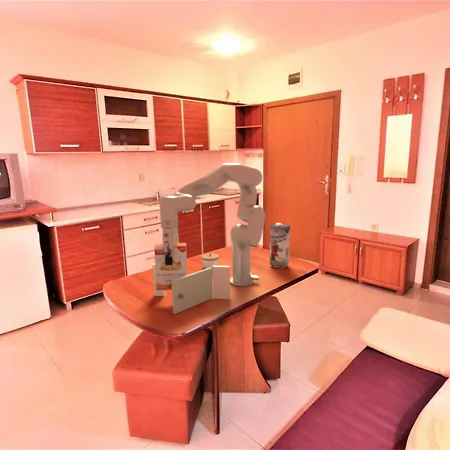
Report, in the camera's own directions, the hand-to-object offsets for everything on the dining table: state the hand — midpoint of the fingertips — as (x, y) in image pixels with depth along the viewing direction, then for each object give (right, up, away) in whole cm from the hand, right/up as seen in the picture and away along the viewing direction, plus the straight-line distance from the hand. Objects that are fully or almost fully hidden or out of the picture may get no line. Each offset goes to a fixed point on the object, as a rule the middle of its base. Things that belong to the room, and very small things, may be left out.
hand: (171, 261), depth 144 cm
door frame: (+8, -18, +9) cm, 22 cm away
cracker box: (0, -13, +3) cm, 13 cm away
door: (+11, -20, -1) cm, 23 cm away
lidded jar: (+16, -9, +47) cm, 50 cm away
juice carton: (+57, -9, +49) cm, 76 cm away
